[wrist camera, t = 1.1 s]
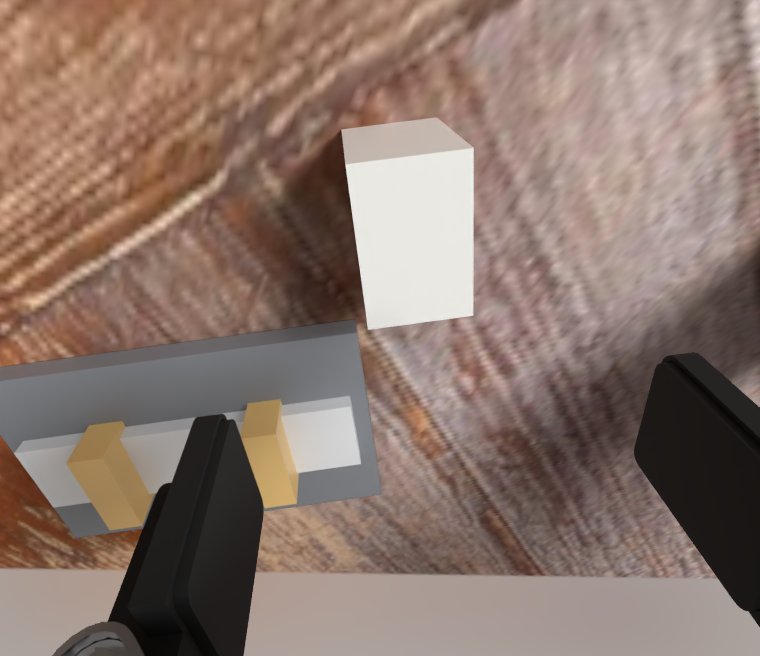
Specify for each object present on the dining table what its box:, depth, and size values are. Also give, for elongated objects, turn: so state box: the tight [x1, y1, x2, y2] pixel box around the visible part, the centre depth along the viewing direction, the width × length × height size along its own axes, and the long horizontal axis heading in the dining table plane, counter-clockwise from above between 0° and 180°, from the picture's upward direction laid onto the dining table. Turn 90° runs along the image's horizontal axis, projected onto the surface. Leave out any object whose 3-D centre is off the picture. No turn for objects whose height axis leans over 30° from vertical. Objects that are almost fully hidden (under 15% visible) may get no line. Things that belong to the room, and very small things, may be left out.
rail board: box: [0, 319, 381, 538], centre depth 30 cm, size 22×14×4 cm, turn 96°
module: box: [341, 118, 474, 330], centre depth 22 cm, size 5×7×7 cm, turn 6°
